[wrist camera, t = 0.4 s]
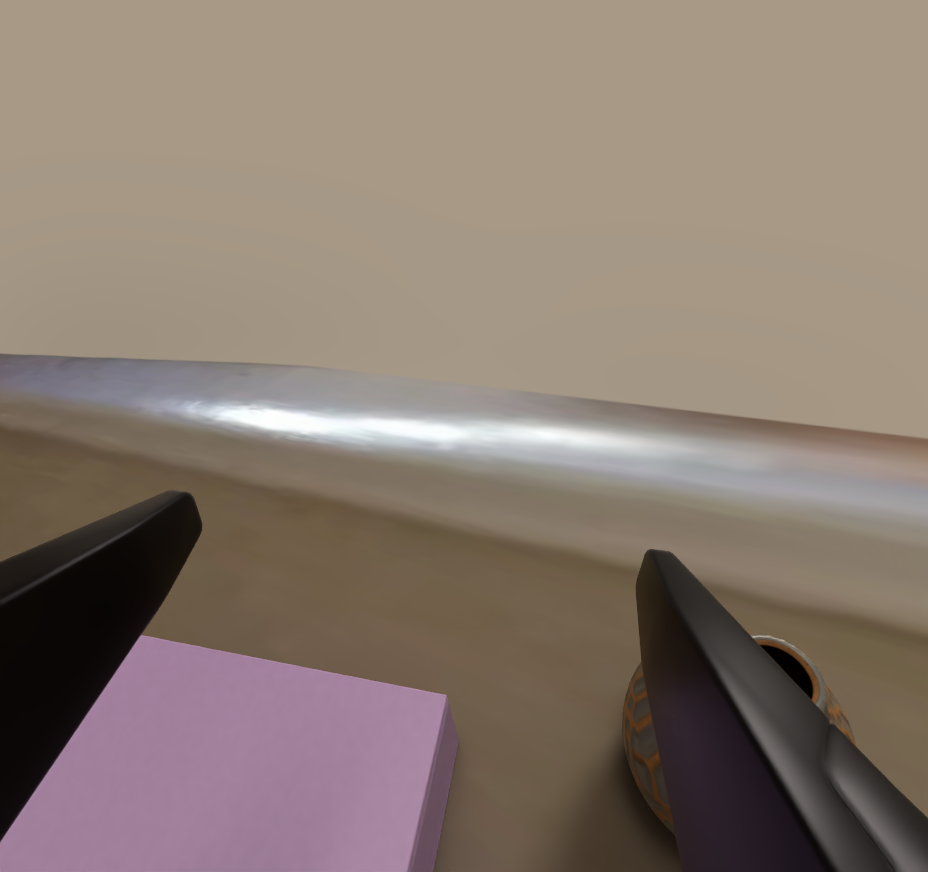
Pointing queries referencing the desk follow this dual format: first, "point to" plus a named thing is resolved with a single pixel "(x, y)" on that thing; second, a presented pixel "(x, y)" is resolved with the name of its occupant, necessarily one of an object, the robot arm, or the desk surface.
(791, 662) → the vase
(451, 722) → the hinged box
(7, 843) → the door panel with handle
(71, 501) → the desk surface
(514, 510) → the desk surface
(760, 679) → the robot arm
